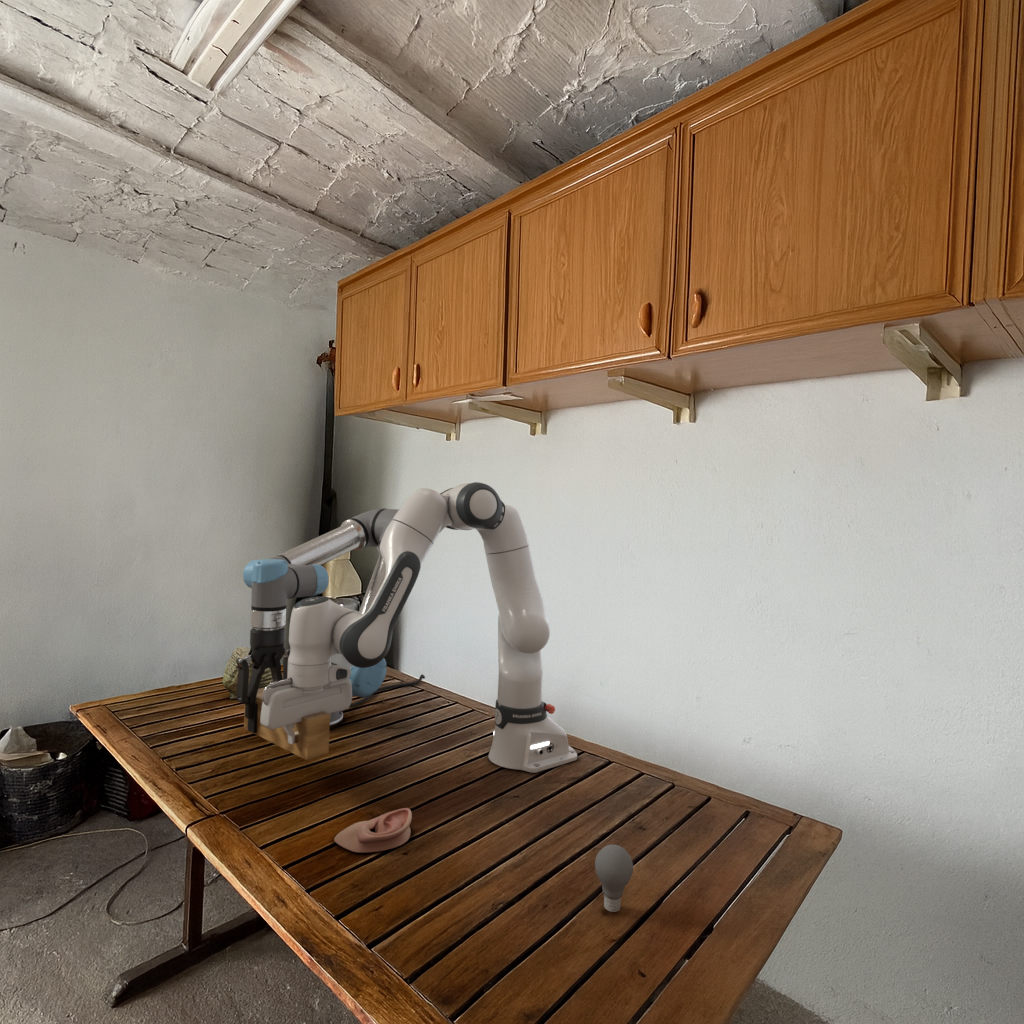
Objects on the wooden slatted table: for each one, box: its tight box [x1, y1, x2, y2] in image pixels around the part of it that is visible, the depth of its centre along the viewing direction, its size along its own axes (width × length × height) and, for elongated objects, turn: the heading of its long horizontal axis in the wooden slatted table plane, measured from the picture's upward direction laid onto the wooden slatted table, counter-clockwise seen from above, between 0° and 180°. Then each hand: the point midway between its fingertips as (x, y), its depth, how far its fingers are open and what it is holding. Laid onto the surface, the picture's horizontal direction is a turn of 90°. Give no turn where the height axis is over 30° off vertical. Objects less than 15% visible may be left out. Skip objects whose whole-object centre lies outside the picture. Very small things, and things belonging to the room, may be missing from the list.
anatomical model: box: [333, 807, 413, 854], centre depth 119 cm, size 13×4×12 cm
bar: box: [243, 688, 331, 761], centre depth 140 cm, size 25×5×8 cm, turn 51°
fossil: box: [222, 646, 283, 699], centre depth 198 cm, size 9×18×15 cm, turn 132°
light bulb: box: [594, 844, 634, 913], centre depth 100 cm, size 6×6×10 cm
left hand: (264, 728), depth 145 cm, fingers closed on bar, 5 cm apart
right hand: (306, 738), depth 135 cm, fingers closed on bar, 5 cm apart
